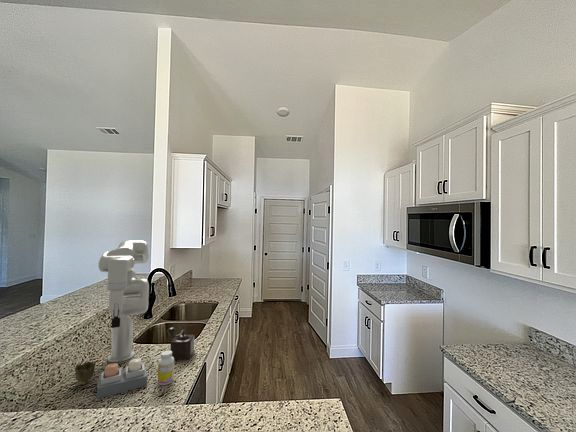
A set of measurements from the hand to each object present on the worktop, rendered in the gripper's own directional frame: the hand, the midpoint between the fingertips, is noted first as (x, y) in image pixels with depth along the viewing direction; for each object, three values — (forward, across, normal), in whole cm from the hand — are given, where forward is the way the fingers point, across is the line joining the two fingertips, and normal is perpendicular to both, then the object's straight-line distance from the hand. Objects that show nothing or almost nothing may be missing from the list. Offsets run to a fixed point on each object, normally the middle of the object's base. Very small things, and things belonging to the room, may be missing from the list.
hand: (115, 326), depth 120 cm
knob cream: (+21, +3, +8) cm, 23 cm away
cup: (+26, -7, -11) cm, 29 cm away
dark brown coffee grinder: (+26, -11, +30) cm, 41 cm away
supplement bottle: (+25, +10, +20) cm, 34 cm away
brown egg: (+21, +3, -1) cm, 21 cm away
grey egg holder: (+25, +3, +4) cm, 26 cm away
